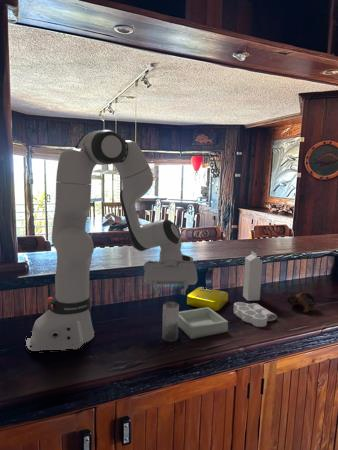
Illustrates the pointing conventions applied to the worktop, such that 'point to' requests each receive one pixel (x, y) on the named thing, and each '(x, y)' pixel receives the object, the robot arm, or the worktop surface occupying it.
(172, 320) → the gray flashlight
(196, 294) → the element tile
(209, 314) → the sage bin
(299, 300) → the turtle figurine
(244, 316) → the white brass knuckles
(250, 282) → the milk
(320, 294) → the worktop surface
